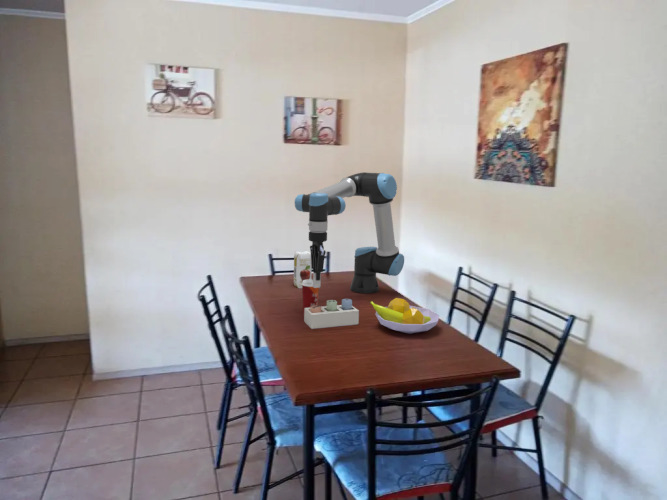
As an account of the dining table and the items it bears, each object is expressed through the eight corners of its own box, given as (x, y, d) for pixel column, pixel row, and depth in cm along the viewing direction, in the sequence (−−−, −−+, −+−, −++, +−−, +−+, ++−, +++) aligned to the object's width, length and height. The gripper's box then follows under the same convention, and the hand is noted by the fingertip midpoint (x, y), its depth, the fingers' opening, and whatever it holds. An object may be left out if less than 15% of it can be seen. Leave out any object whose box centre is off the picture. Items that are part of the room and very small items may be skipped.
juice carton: (292, 285, 278) (293, 251, 275) (307, 284, 282) (307, 250, 278) (297, 289, 271) (298, 253, 268) (312, 287, 275) (313, 253, 272)
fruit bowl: (440, 321, 225) (441, 296, 223) (435, 342, 199) (437, 314, 197) (377, 314, 232) (378, 290, 230) (364, 333, 206) (365, 306, 204)
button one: (349, 311, 223) (349, 297, 222) (353, 314, 219) (353, 300, 218) (339, 312, 222) (340, 298, 220) (343, 315, 218) (344, 301, 216)
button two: (334, 313, 221) (334, 299, 219) (338, 316, 217) (338, 301, 215) (324, 313, 219) (325, 299, 218) (328, 316, 215) (328, 302, 214)
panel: (349, 317, 227) (349, 304, 226) (358, 324, 218) (358, 310, 217) (304, 321, 219) (304, 307, 218) (311, 328, 210) (311, 314, 209)
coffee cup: (316, 317, 226) (317, 284, 223) (298, 315, 227) (299, 282, 225) (321, 311, 234) (321, 279, 231) (303, 309, 235) (304, 278, 233)
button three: (318, 318, 218) (319, 304, 217) (322, 321, 214) (322, 307, 213) (309, 319, 217) (309, 305, 216) (312, 322, 213) (312, 308, 212)
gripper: (304, 229, 213) (303, 284, 218) (314, 234, 201) (313, 292, 206) (321, 228, 216) (320, 282, 220) (332, 233, 204) (330, 290, 208)
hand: (316, 287), depth 213 cm, fingers closed
